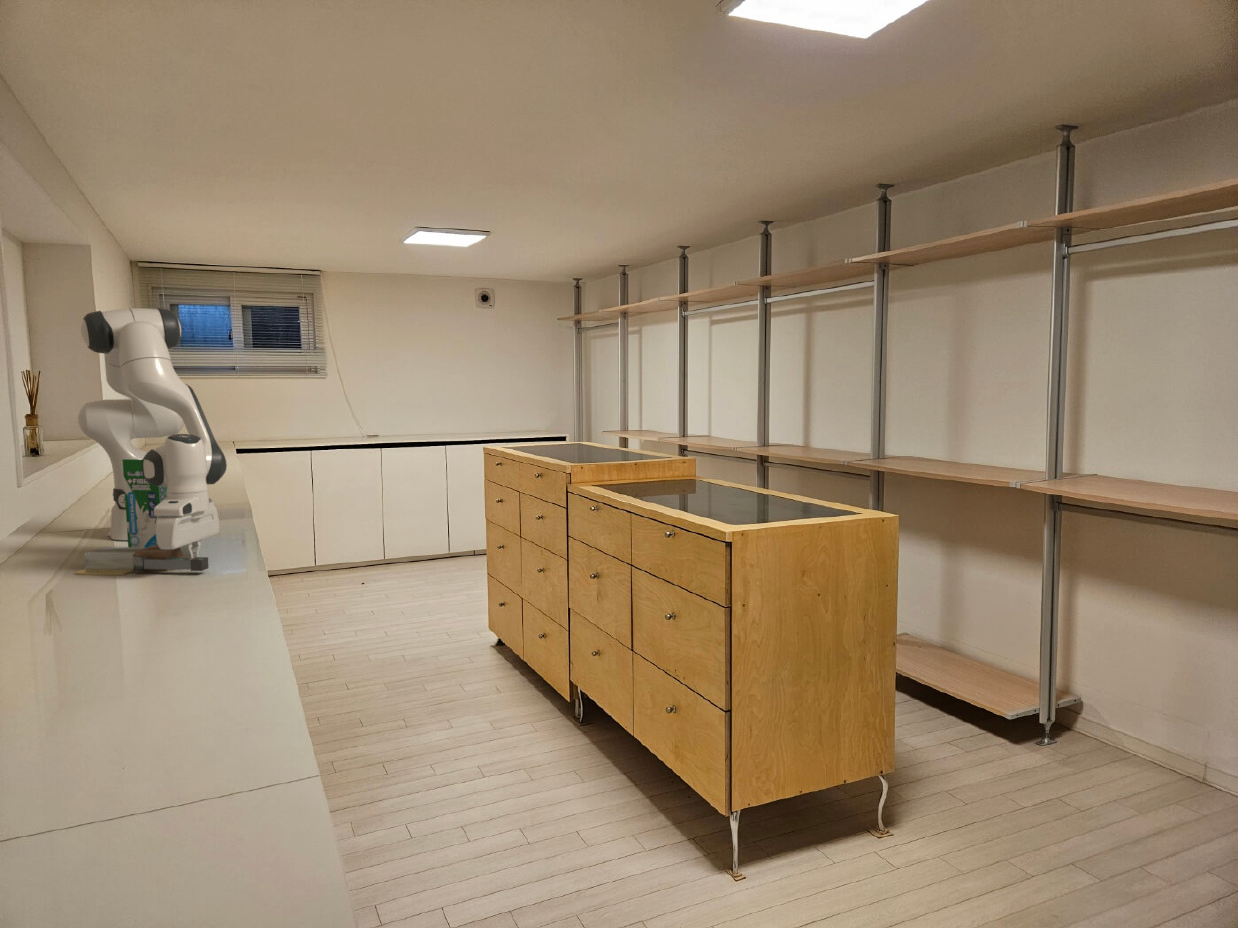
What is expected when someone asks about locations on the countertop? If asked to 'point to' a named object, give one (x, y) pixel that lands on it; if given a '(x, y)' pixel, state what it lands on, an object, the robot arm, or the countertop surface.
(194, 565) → the swing bar
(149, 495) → the milk carton
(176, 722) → the countertop surface
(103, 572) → the strike pad
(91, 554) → the door edge
